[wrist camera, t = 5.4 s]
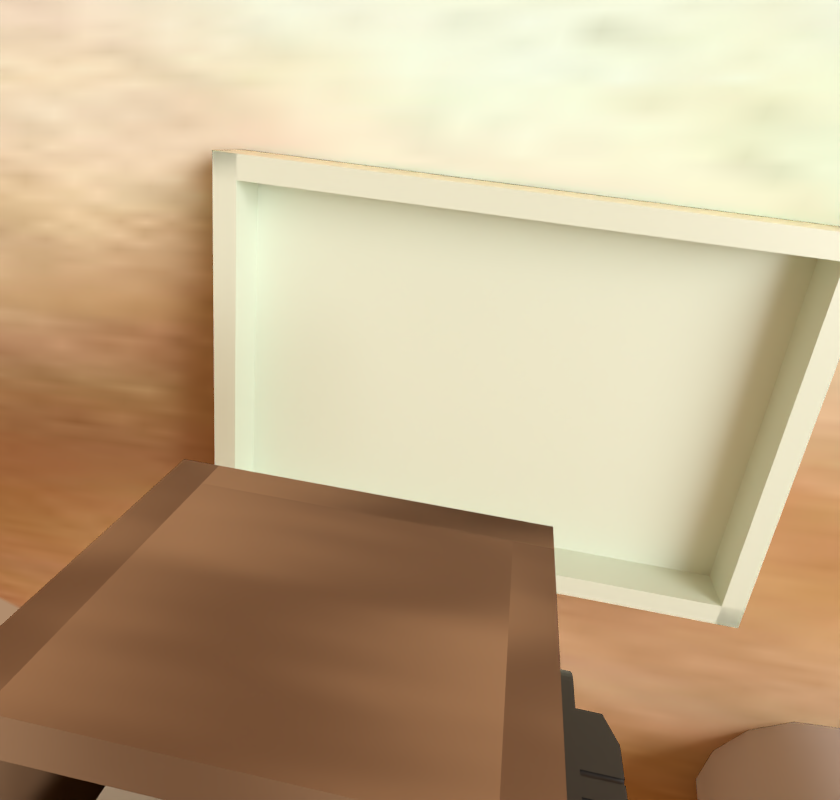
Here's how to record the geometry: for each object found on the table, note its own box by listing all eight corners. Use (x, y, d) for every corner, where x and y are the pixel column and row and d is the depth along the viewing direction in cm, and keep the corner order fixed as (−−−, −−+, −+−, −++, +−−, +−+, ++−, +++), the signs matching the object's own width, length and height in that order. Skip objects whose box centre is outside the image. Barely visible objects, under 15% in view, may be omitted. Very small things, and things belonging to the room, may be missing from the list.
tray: (847, 227, 21) (885, 237, 18) (720, 586, 26) (738, 628, 24) (243, 149, 23) (212, 150, 21) (239, 497, 28) (215, 527, 26)
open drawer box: (552, 526, 10) (569, 849, 5) (492, 795, 12) (468, 1184, 8) (183, 458, 11) (-79, 697, 6) (191, 727, 13) (4, 1046, 8)
